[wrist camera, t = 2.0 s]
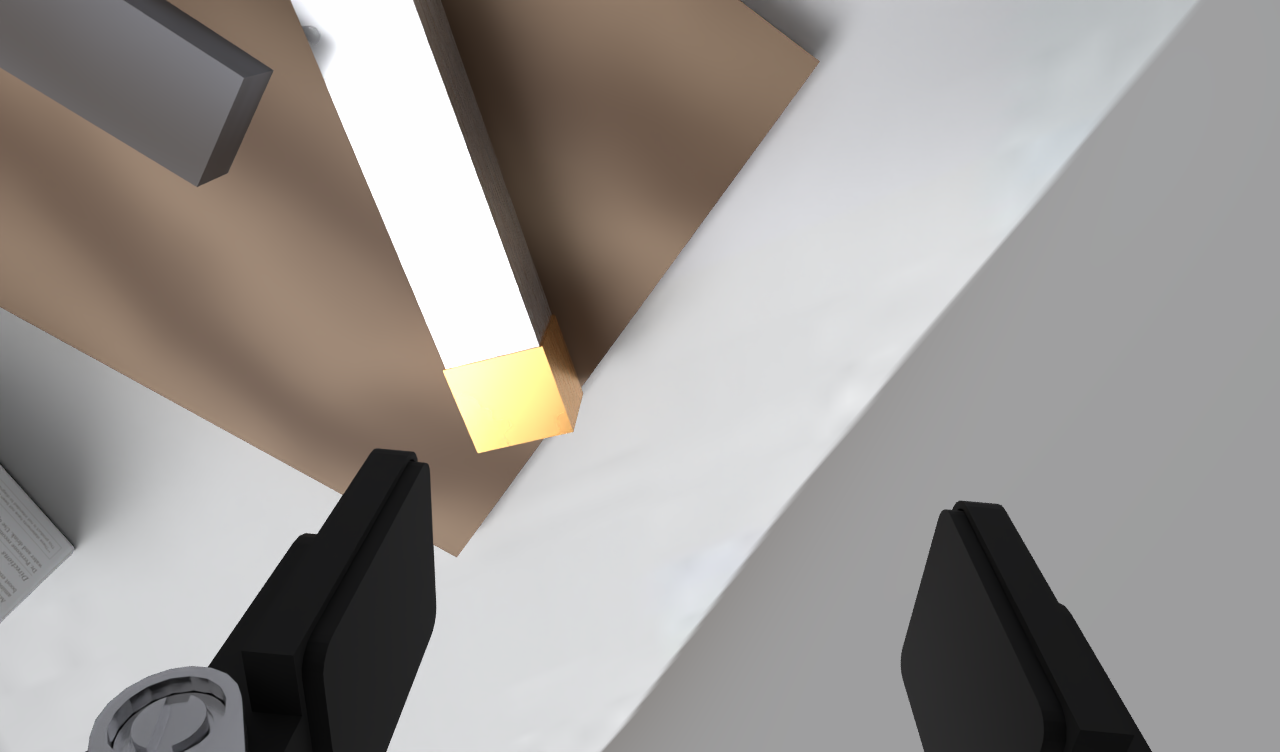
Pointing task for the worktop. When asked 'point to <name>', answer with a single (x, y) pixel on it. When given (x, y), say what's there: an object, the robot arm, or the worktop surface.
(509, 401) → the link
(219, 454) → the worktop surface
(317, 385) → the board
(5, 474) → the supplement box
